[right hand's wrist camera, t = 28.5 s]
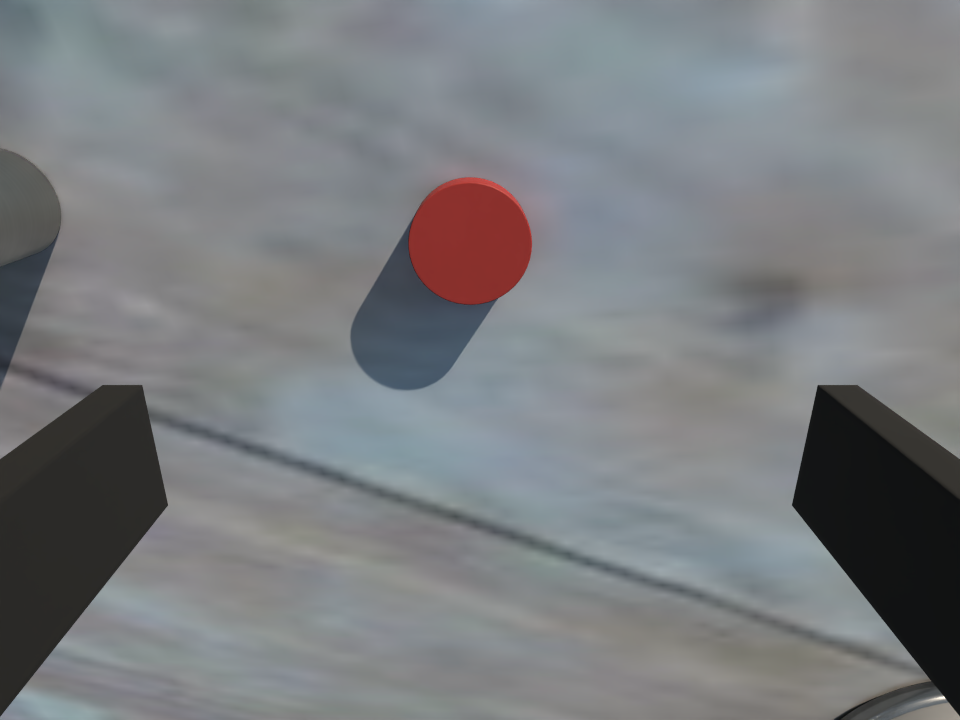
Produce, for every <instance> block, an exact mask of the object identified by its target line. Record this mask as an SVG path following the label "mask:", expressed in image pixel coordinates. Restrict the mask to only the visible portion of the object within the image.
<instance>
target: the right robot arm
mask: <svg viewBox="0 0 960 720" xmlns="http://www.w3.org/2000/svg"><path fill="white" fill-rule="evenodd" d="M167 506H168V503H167V498H166V494H165V489H164V484H163V480H162V475H161V471H160V466H159V461H158V457H157V452H156V447H155V443H154V438H153V433H152V429H151V424H150V419H149V415H148V410H147V405H146V401H145V396H144V392H143V387H142V385H102V386H101V387H100V388H98V389H97V390H95V391H94V392H93V393H91V394H90V395H89V396H87V397H86V398H84V399H83V400H82V401H80V402H79V403H77V404H76V405H75V406H73V407H72V408H71V409H69V410H68V411H66V412H65V413H64V414H62V415H61V416H59V417H58V418H57V419H55V420H54V421H53V422H51V423H50V424H48V425H47V426H46V427H44V428H43V429H41V430H40V431H39V432H37V433H36V434H35V435H33V436H32V437H30V438H29V439H28V440H26V441H25V442H24V443H22V444H21V445H19V446H18V447H17V448H15V449H14V450H12V451H11V452H10V453H8V454H7V455H6V456H4V457H3V458H1V459H0V716H1V715H2V714H3V712H4V711H5V710H6V709H7V707H8V706H9V705H10V704H11V702H12V701H13V700H14V699H15V697H16V696H17V695H18V694H19V692H20V691H21V690H22V688H23V687H24V686H25V685H26V683H27V682H28V681H29V680H30V678H31V677H32V676H33V675H34V673H35V672H36V671H37V670H38V668H39V667H40V666H41V665H42V663H43V662H44V661H45V659H46V658H47V657H48V656H49V654H50V653H51V652H52V651H53V649H54V648H55V647H56V646H57V644H58V643H59V642H60V641H61V639H62V638H63V637H64V636H65V634H66V633H67V632H68V631H69V629H70V628H71V627H72V625H73V624H74V623H75V622H76V620H77V619H78V618H79V617H80V615H81V614H82V613H83V612H84V610H85V609H86V608H87V607H88V605H89V604H90V603H91V602H92V600H93V599H94V598H95V597H96V595H97V594H98V593H99V591H100V590H101V589H102V588H103V586H104V585H105V584H106V583H107V581H108V580H109V579H110V578H111V576H112V575H113V574H114V573H115V571H116V570H117V569H118V568H119V566H120V565H121V564H122V563H123V561H124V560H125V559H126V557H127V556H128V555H129V554H130V552H131V551H132V550H133V549H134V547H135V546H136V545H137V544H138V542H139V541H140V540H141V539H142V537H143V536H144V535H145V534H146V532H147V531H148V530H149V529H150V527H151V526H152V525H153V523H154V522H155V521H156V520H157V518H158V517H159V516H160V515H161V513H162V512H163V511H164V510H165V508H166V507H167ZM792 506H793V507H794V508H795V510H796V511H797V512H798V513H799V515H800V516H801V517H802V518H803V520H804V521H805V522H806V523H807V525H808V526H809V527H810V529H811V530H812V531H813V532H814V534H815V535H816V536H817V537H818V539H819V540H820V541H821V542H822V544H823V545H824V546H825V547H826V549H827V550H828V551H829V552H830V554H831V555H832V556H833V557H834V559H835V560H836V561H837V563H838V564H839V565H840V566H841V568H842V569H843V570H844V571H845V573H846V574H847V575H848V576H849V578H850V579H851V580H852V581H853V583H854V584H855V585H856V586H857V588H858V589H859V590H860V591H861V593H862V594H863V595H864V597H865V598H866V599H867V600H868V602H869V603H870V604H871V605H872V607H873V608H874V609H875V610H876V612H877V613H878V614H879V615H880V617H881V618H882V619H883V620H884V622H885V623H886V624H887V625H888V627H889V628H890V629H891V631H892V632H893V633H894V634H895V636H896V637H897V638H898V639H899V641H900V642H901V643H902V644H903V646H904V647H905V648H906V649H907V651H908V652H909V653H910V654H911V656H912V657H913V658H914V659H915V661H916V662H917V663H918V665H919V666H920V667H921V668H922V670H923V671H924V672H925V673H926V675H927V676H928V677H929V678H930V680H931V682H925V683H920V684H916V685H912V686H908V687H904V688H901V689H898V690H895V691H892V692H889V693H887V694H884V695H882V696H880V697H877V698H875V699H873V700H871V701H869V702H867V703H865V704H863V705H862V706H860V707H858V708H857V709H855V710H853V711H852V712H850V713H849V714H847V715H846V716H845V717H843V718H842V719H841V720H960V459H959V458H957V457H956V456H954V455H953V454H952V453H950V452H949V451H948V450H946V449H945V448H943V447H942V446H941V445H939V444H938V443H936V442H935V441H934V440H932V439H931V438H930V437H928V436H927V435H925V434H924V433H923V432H921V431H920V430H919V429H917V428H916V427H914V426H913V425H912V424H910V423H909V422H907V421H906V420H905V419H903V418H902V417H901V416H899V415H898V414H896V413H895V412H894V411H892V410H891V409H889V408H888V407H887V406H885V405H884V404H883V403H881V402H880V401H878V400H877V399H876V398H874V397H873V396H871V395H870V394H869V393H867V392H866V391H865V390H863V389H862V388H860V387H859V386H858V385H818V387H817V392H816V396H815V401H814V405H813V410H812V415H811V419H810V424H809V429H808V433H807V438H806V443H805V447H804V452H803V457H802V461H801V466H800V471H799V475H798V480H797V484H796V489H795V494H794V498H793V503H792Z"/></svg>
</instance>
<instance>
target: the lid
mask: <svg viewBox="0 0 960 720" xmlns="http://www.w3.org/2000/svg"><path fill="white" fill-rule="evenodd" d="M408 244H409V255H410V259H411V262H412V265H413V267H414V270H415V272H416V273H417V275H418V277H419V278H420V280H421V281H422V282H423V283H424V284H425V285H426V286H427V287H428V288H429V289H430V290H431V291H432V292H433V293H435V294H436V295H438V296H440V297H441V298H443V299H446V300H448V301H451V302H454V303H458V304H466V305H474V304H482V303H487V302H490V301H493V300H495V299H497V298H499V297H501V296H503V295H504V294H506V293H507V292H509V291H510V290H511V289H512V288H513V287H514V286H515V285H516V284H517V283H518V282H519V280H520V279H521V277H522V276H523V274H524V273H525V271H526V268H527V266H528V263H529V260H530V256H531V249H532V238H531V231H530V227H529V224H528V221H527V219H526V216H525V214H524V212H523V210H522V208H521V206H520V205H519V203H518V202H517V200H516V199H515V198H514V197H513V196H512V195H511V194H510V193H509V192H508V191H507V190H506V189H504V188H503V187H501V186H500V185H498V184H496V183H494V182H491V181H488V180H485V179H480V178H459V179H455V180H452V181H449V182H446V183H444V184H442V185H441V186H439V187H437V188H436V189H435V190H433V191H432V192H431V193H430V194H429V195H428V196H427V197H426V198H425V199H424V201H423V202H422V203H421V205H420V207H419V208H418V210H417V212H416V214H415V217H414V219H413V222H412V224H411V228H410V232H409V239H408Z"/></svg>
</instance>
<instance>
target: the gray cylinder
mask: <svg viewBox="0 0 960 720" xmlns="http://www.w3.org/2000/svg"><path fill="white" fill-rule="evenodd" d="M60 224H61V210H60V204H59V201H58V198H57V195H56V193H55V191H54V189H53V187H52V185H51V184H50V182H49V181H48V179H47V178H46V177H45V175H44V174H43V173H42V172H41V171H40V170H39V169H38V168H37V167H36V166H35V165H33V164H32V163H31V162H29V161H28V160H27V159H25V158H23V157H21V156H20V155H18V154H15V153H13V152H11V151H8V150H4V149H0V267H1V266H4V265H6V264H9V263H12V262H15V261H17V260H20V259H23V258H26V257H28V256H31V255H34V254H36V253H39V252H41V251H43V250H45V249H46V248H47V247H48V246H50V244H51V243H52V242H53V241H54V239H55V238H56V236H57V234H58V231H59V228H60Z"/></svg>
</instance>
